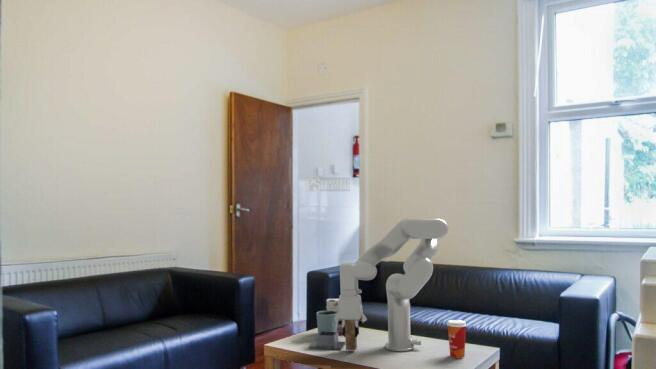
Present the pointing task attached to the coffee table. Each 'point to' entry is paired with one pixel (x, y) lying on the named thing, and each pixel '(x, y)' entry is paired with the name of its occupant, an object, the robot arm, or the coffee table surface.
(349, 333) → the walnut rail
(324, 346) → the cup bracket
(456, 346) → the paper cup
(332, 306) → the candy bar box
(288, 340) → the coffee table surface
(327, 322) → the green tapered container
